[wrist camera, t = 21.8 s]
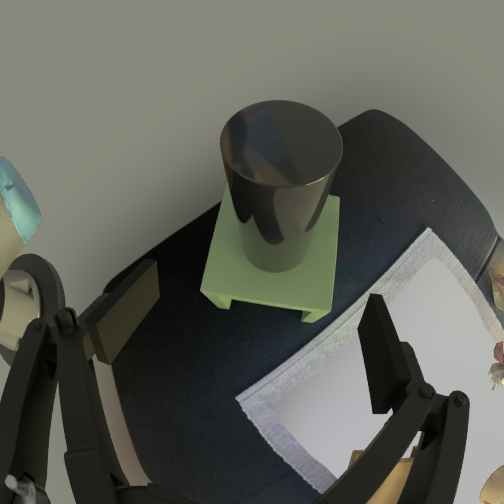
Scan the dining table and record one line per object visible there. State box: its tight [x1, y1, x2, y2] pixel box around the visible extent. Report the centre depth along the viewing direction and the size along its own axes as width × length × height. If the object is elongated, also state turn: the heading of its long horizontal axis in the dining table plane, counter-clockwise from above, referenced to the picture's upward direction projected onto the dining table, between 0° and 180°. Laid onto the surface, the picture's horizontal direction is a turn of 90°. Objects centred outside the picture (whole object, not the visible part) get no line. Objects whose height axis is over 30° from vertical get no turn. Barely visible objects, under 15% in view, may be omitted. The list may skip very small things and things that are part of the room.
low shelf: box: [348, 446, 418, 504], centre depth 22 cm, size 11×11×6 cm
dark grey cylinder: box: [220, 100, 343, 273], centre depth 20 cm, size 6×6×14 cm
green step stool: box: [200, 182, 339, 323], centre depth 31 cm, size 12×12×10 cm
